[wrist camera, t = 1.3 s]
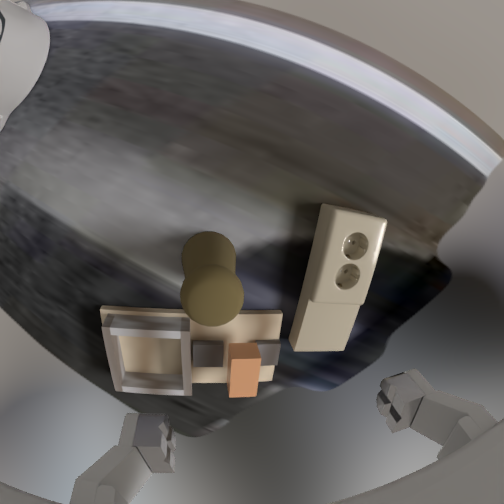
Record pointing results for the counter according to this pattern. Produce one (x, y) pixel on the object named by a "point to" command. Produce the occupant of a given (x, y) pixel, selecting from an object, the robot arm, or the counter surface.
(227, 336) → the rail panel
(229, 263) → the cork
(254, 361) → the block
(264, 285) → the counter surface
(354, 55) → the counter surface
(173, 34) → the counter surface
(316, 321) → the electrical outlet
